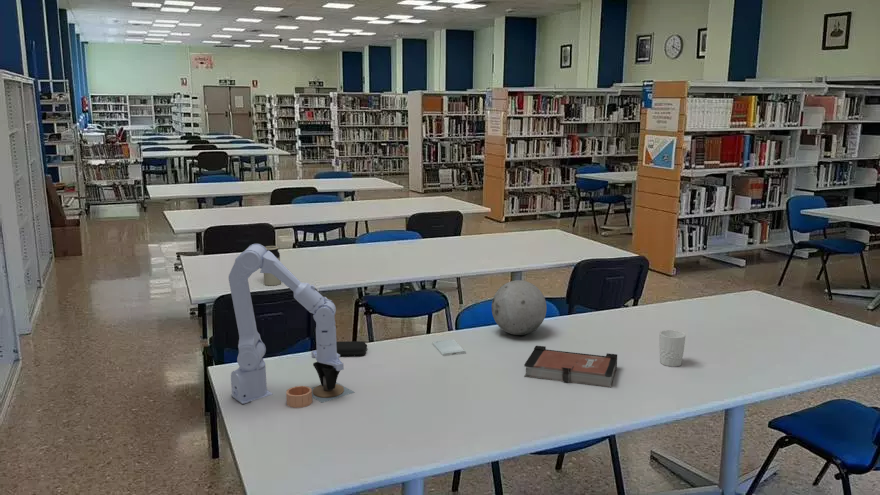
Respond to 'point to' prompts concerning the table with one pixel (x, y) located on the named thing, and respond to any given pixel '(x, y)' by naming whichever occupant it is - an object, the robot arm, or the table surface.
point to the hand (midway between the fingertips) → (328, 387)
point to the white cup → (671, 347)
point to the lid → (324, 392)
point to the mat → (346, 392)
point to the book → (571, 367)
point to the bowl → (299, 396)
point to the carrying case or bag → (351, 348)
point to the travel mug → (268, 277)
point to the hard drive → (448, 347)
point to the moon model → (518, 307)
